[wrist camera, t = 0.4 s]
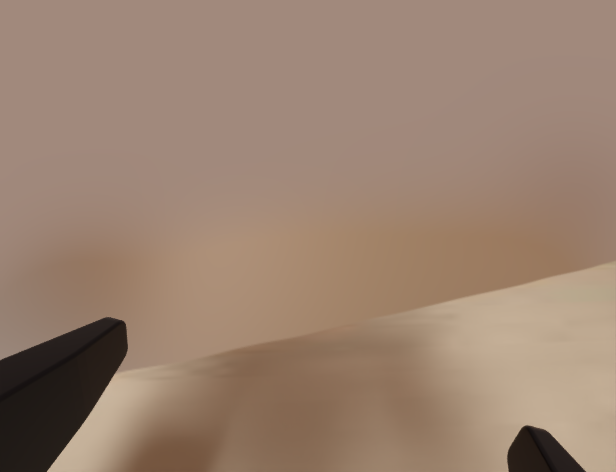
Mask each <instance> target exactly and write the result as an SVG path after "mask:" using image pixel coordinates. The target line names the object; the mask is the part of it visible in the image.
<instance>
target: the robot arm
mask: <svg viewBox="0 0 616 472" xmlns="http://www.w3.org/2000/svg"><path fill="white" fill-rule="evenodd" d="M127 349H128V344H127V331H126V324H125V322H124V321H122V320H118V319H115V318H111V317H106V318H103V319H100V320H98V321H95V322H93V323H91V324H88V325H86V326H83V327H81V328H78V329H76V330H73V331H71V332H68V333H66V334H63V335H61V336H58V337H56V338H53V339H51V340H49V341H46V342H44V343H41V344H39V345H36V346H34V347H31V348H29V349H27V350H24V351H21V352H19V353H17V354H14V355H12V356H9V357H7V358H4V359H2V360H0V472H47V471H48V469H49V468H50V467H51V465H52V464H53V463H54V461H55V460H56V459H57V457H58V456H59V455H60V453H61V452H62V451H63V449H64V448H65V447H66V446H67V444H68V443H69V442H70V440H71V439H72V438H73V436H74V435H75V434H76V432H77V431H78V430H79V428H80V427H81V426H82V424H83V423H84V421H85V420H86V419H87V417H88V416H89V414H90V413H91V411H92V410H93V408H94V407H95V405H96V403H97V402H98V400H99V398H100V397H101V395H102V394H103V392H104V390H105V389H106V387H107V386H108V384H109V382H110V381H111V379H112V377H113V376H114V374H115V373H116V371H117V369H118V368H119V366H120V365H121V363H122V361H123V359H124V358H125V356H126V353H127ZM507 462H508V469H509V472H586V471H585V470H584V469H583V468H582V467H581V466H580V465H579V464H578V463H577V462H576V461H575V460H574V458H573V457H572V456H571V455H570V454H569V453H568V452H567V451H566V450H565V449H564V448H563V447H562V446H561V445H560V444H559V442H558V441H557V440H556V439H555V438H554V437H553V436H552V435H551V434H550V433H549V432H548V431H546V430H544V429H540V428H536V427H532V426H529V425H526V426H524V427H522V428H521V430H520V432H519V433H518V435H517V436H516V438H515V440H514V441H513V443H512V445H511V446H510V448H509V450H508V455H507Z"/></svg>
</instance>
